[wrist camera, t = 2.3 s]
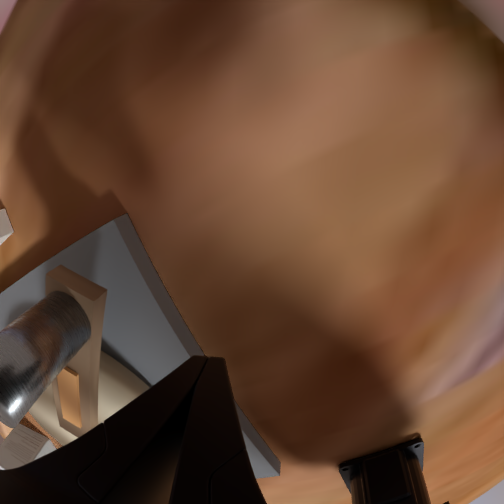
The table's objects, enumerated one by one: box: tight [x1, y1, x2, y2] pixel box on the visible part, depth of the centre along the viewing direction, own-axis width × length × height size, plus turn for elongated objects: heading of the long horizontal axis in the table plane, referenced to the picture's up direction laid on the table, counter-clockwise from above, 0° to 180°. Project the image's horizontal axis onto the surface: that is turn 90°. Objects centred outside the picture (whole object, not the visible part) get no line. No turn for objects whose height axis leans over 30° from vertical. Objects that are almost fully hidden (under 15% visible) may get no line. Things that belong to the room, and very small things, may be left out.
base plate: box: [0, 208, 281, 478], centre depth 15 cm, size 23×19×2 cm
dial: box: [0, 265, 150, 446], centre depth 11 cm, size 18×13×8 cm
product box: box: [0, 423, 56, 470], centre depth 20 cm, size 6×6×7 cm
